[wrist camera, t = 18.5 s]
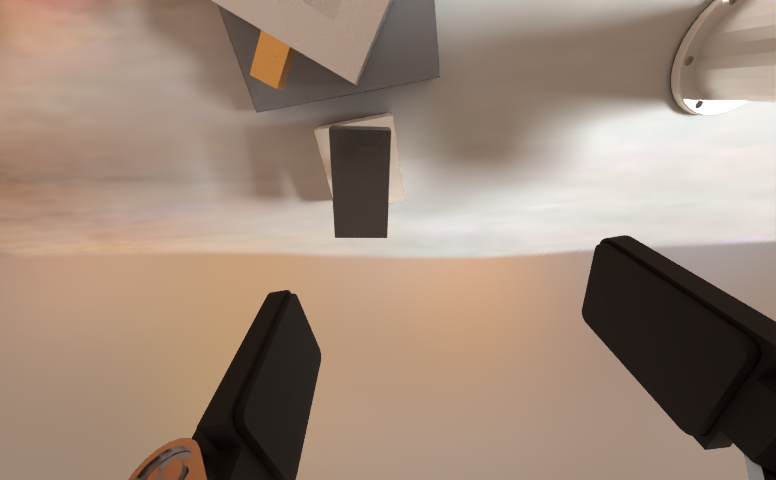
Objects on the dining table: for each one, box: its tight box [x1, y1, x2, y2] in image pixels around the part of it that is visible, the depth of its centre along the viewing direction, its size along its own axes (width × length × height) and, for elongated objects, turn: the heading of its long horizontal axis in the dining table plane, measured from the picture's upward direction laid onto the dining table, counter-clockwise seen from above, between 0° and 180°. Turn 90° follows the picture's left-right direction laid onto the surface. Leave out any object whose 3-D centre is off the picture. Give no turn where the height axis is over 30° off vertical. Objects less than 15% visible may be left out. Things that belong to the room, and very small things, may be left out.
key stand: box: [314, 112, 405, 203], centre depth 32 cm, size 8×9×4 cm
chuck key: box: [329, 125, 391, 238], centre depth 28 cm, size 5×9×11 cm, turn 178°
